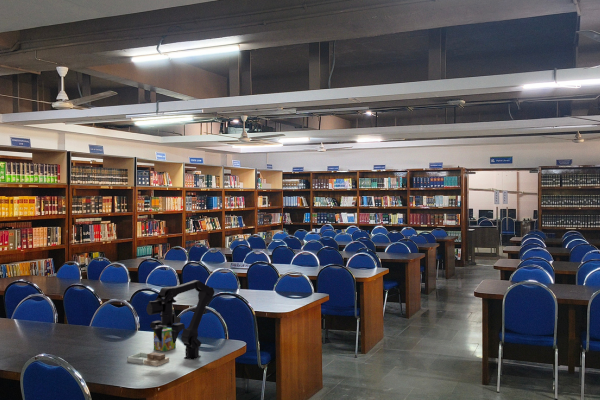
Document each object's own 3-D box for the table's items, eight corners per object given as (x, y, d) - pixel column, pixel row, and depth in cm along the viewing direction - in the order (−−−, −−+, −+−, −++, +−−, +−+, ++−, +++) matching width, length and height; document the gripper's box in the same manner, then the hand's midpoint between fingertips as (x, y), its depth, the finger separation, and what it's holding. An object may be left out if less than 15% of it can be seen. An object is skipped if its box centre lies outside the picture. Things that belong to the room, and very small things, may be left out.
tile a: (165, 358, 272) (165, 353, 272) (159, 360, 269) (159, 355, 269) (159, 357, 274) (159, 353, 274) (153, 359, 270) (153, 355, 270)
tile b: (158, 357, 274) (158, 353, 274) (153, 359, 271) (153, 354, 271) (152, 356, 276) (152, 352, 276) (147, 358, 272) (147, 354, 272)
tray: (155, 359, 279) (155, 354, 279) (142, 364, 270) (142, 359, 270) (140, 356, 284) (140, 352, 284) (127, 361, 275) (127, 357, 275)
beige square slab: (169, 361, 274) (169, 357, 274) (157, 366, 266) (157, 362, 266) (155, 359, 278) (155, 355, 278) (143, 364, 270) (143, 360, 270)
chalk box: (164, 352, 293) (164, 325, 293) (153, 350, 298) (152, 323, 298) (176, 348, 301) (176, 322, 301) (164, 346, 306) (164, 320, 306)
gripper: (191, 310, 273) (191, 340, 273) (164, 308, 281) (164, 337, 281) (177, 314, 263) (177, 345, 263) (149, 311, 272) (149, 341, 271)
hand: (167, 342), depth 270 cm, fingers open, 9 cm apart
